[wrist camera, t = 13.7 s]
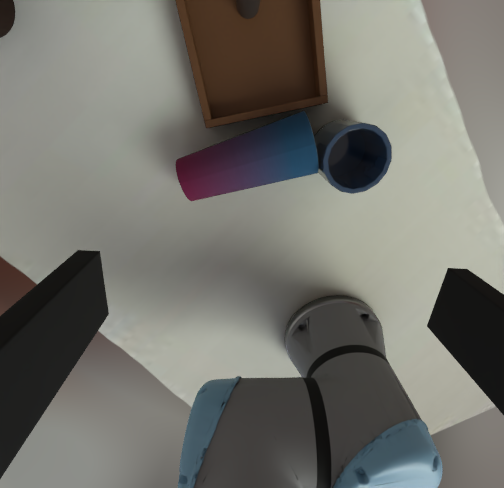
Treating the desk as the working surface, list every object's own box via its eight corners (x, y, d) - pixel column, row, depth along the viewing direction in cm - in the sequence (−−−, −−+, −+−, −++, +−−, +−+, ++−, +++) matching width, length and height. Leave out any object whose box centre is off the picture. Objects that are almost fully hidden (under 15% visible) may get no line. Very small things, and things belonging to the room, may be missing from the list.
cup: (181, 149, 38) (299, 113, 36) (200, 201, 40) (312, 169, 38) (165, 153, 32) (308, 108, 30) (188, 214, 34) (322, 176, 32)
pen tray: (322, 102, 35) (328, 102, 33) (208, 126, 36) (206, 128, 34) (300, -151, 27) (306, -175, 25) (151, -113, 28) (143, -133, 25)
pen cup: (367, 172, 39) (392, 185, 33) (313, 183, 39) (327, 199, 33) (365, 113, 36) (391, 116, 30) (306, 126, 37) (320, 132, 30)
